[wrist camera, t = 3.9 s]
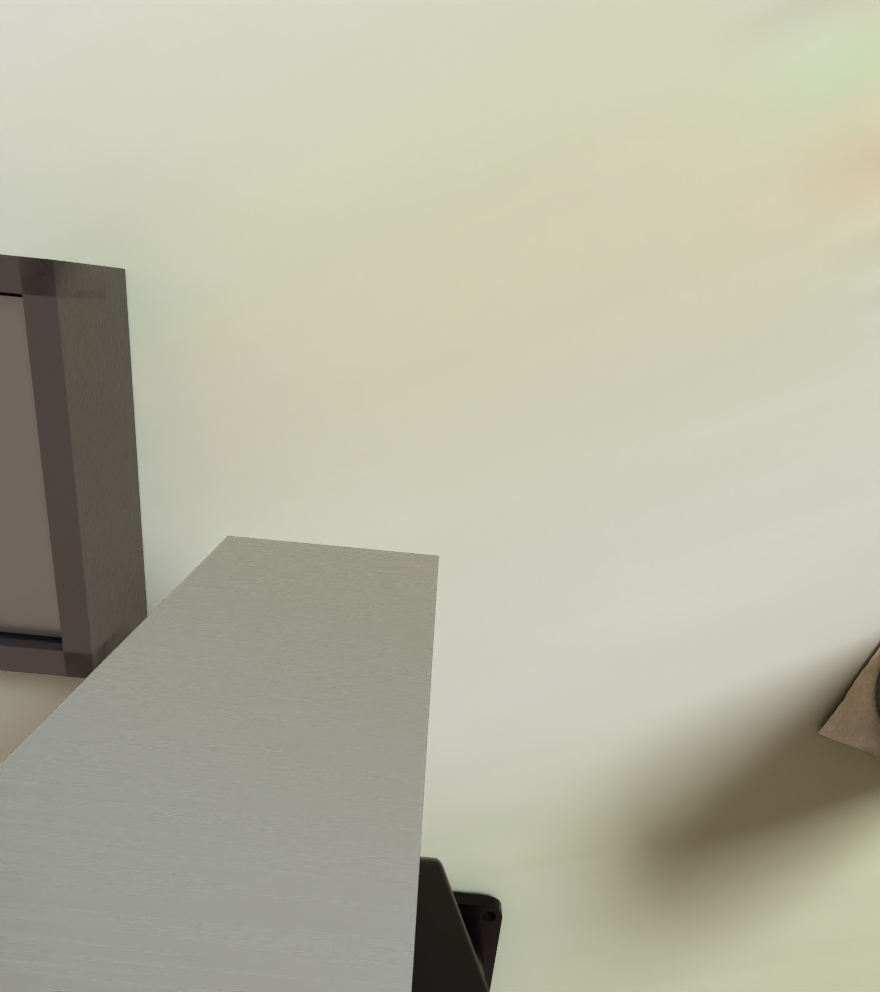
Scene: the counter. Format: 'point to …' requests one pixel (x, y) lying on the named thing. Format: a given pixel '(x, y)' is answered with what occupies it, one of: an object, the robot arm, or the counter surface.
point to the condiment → (859, 712)
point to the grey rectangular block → (232, 787)
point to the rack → (66, 468)
